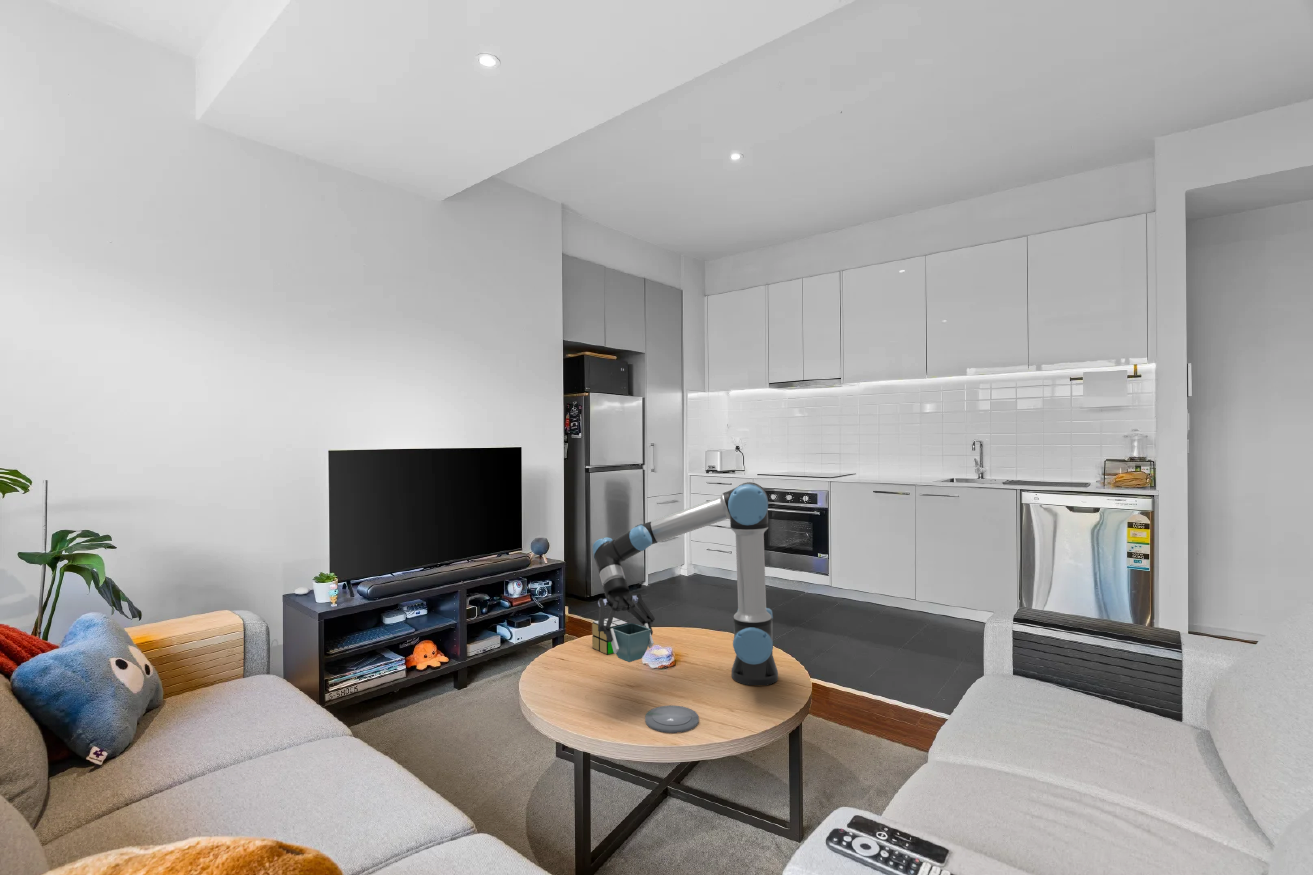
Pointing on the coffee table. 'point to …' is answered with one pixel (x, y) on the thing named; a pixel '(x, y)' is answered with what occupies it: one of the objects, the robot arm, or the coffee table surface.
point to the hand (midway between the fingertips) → (634, 648)
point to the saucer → (671, 719)
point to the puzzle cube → (604, 636)
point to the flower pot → (631, 641)
